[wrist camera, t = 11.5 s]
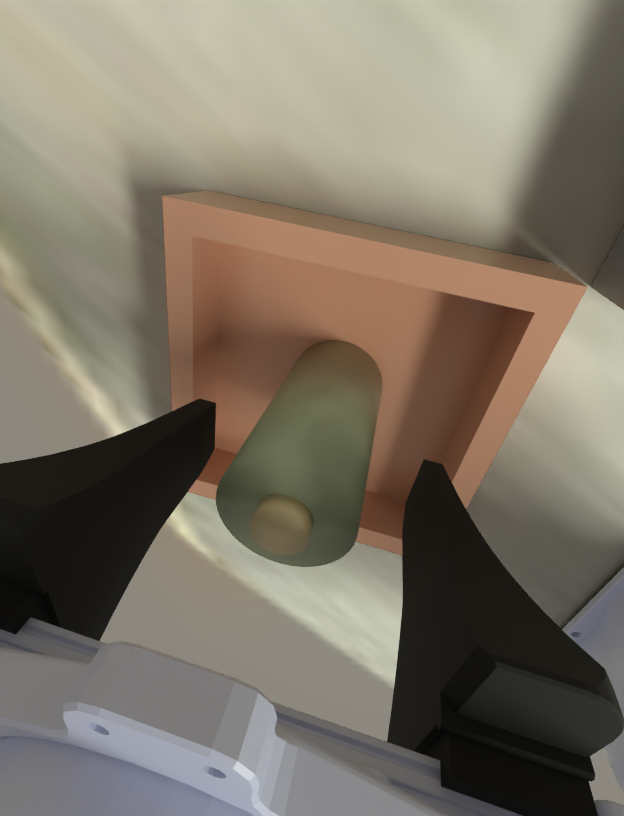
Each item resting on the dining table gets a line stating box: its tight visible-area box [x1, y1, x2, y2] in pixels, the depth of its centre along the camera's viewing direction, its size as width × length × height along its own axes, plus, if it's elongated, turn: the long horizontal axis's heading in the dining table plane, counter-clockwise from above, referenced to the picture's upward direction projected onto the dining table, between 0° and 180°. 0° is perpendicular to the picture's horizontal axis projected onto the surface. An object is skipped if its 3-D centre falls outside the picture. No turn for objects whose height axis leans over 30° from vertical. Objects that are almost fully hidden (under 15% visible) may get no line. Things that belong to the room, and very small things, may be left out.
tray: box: [162, 190, 587, 555], centre depth 17 cm, size 13×13×3 cm
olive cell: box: [216, 340, 383, 567], centre depth 14 cm, size 4×4×9 cm
